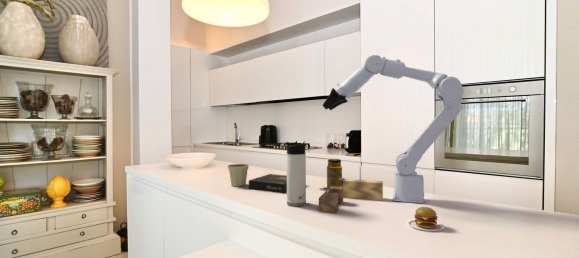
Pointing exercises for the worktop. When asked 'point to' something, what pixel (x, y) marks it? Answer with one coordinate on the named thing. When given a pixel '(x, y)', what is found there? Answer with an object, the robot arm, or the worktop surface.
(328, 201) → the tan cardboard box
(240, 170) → the flower pot
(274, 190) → the portable cd player
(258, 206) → the worktop surface
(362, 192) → the rail
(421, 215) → the hamburger
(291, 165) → the travel mug
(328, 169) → the condiment
